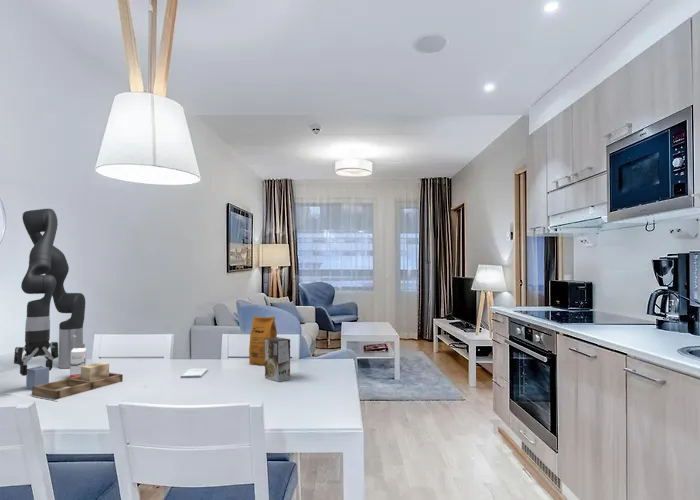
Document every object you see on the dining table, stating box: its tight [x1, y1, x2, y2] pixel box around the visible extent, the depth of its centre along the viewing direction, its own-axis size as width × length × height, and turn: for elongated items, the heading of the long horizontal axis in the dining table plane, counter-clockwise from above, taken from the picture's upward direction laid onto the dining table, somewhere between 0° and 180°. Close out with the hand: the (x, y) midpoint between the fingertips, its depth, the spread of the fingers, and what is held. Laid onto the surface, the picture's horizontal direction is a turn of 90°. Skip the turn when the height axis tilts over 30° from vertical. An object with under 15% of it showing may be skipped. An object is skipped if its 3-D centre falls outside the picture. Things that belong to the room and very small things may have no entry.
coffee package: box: [248, 315, 278, 366], centre depth 210 cm, size 10×12×22 cm
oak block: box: [81, 361, 110, 382], centre depth 171 cm, size 8×5×7 cm, turn 156°
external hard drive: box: [180, 368, 209, 379], centre depth 189 cm, size 2×8×12 cm
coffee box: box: [264, 336, 291, 383], centre depth 182 cm, size 9×6×16 cm
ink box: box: [69, 347, 87, 378], centre depth 182 cm, size 8×5×12 cm, turn 26°
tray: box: [31, 372, 124, 403], centre depth 166 cm, size 26×13×3 cm, turn 156°
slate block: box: [25, 365, 50, 391], centre depth 166 cm, size 5×5×8 cm
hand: (36, 372), depth 165 cm, fingers open, 8 cm apart
